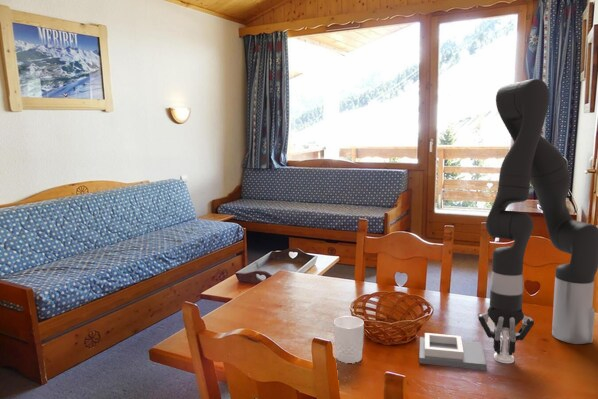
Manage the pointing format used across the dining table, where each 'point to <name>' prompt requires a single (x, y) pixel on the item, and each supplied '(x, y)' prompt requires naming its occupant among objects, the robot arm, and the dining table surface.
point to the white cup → (348, 338)
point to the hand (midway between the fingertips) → (503, 352)
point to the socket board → (451, 352)
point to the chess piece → (504, 349)
